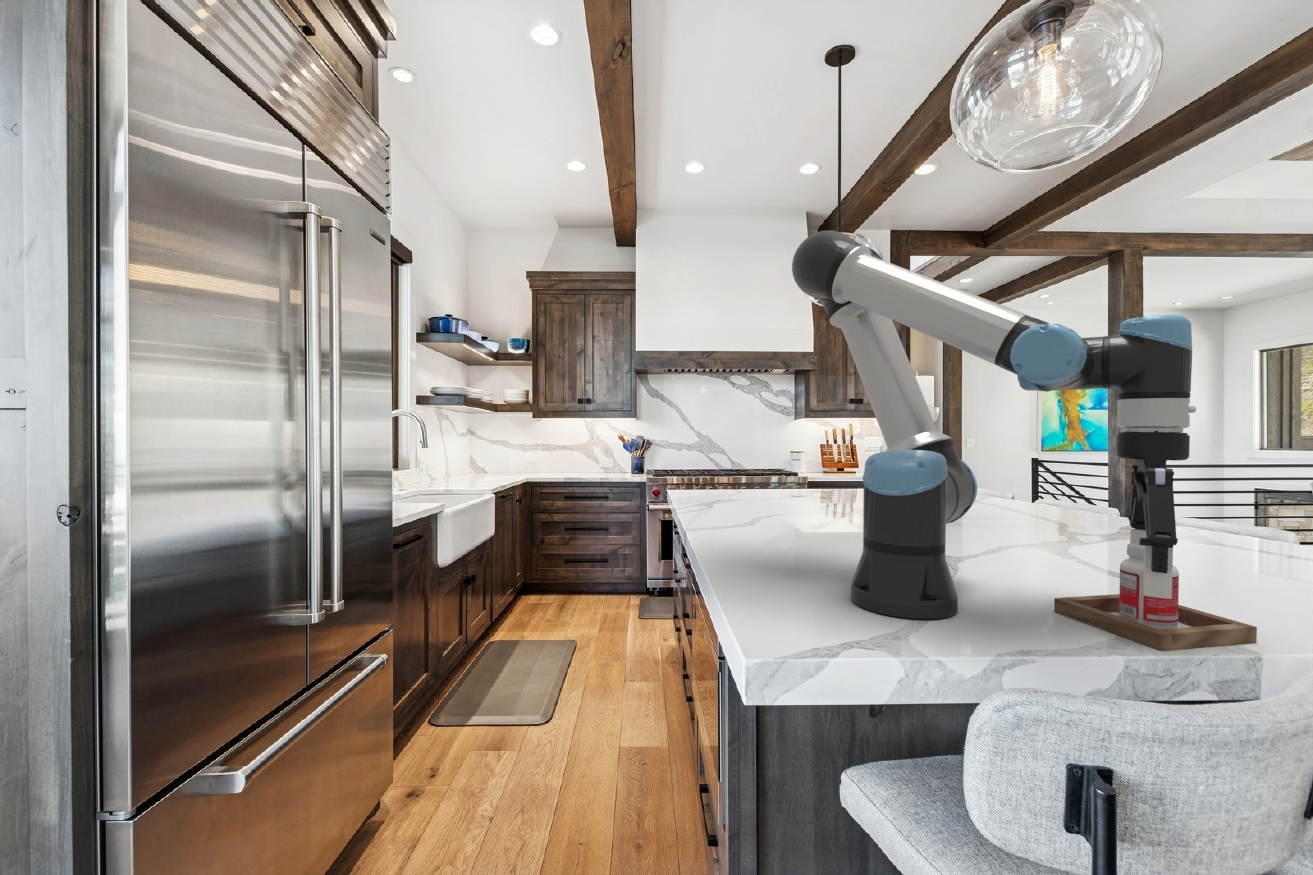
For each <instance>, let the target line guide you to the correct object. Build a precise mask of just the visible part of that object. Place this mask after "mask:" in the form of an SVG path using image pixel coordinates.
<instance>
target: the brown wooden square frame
mask: <svg viewBox="0 0 1313 875" xmlns="http://www.w3.org/2000/svg"><path fill="white" fill-rule="evenodd" d="M1119 599H1120V593H1117V594H1116V593H1115V594H1102V595H1101V594H1099V595H1084V596H1083V595H1082V596H1068V597H1054V600H1053V601H1054V602H1053V603H1054V604H1053V605H1054V606H1053V607H1054V608H1053V610H1054V611H1053V612H1054V613H1057V614H1060V615H1062V616H1066V617H1068V618H1070V619H1074V620H1076V621H1079V622H1082V623H1085V624H1087V623H1089V624H1088V625H1090V624H1091V625H1090V626H1092V625H1093V626H1092V627H1095V626H1096V628H1098V627H1100V628H1102V629H1101V630H1103V629H1104V630H1103V631H1107V632H1108V633H1112V634H1115V635H1117V636H1120V637H1122V638H1125V639H1128V640H1130V641H1133V642H1136V643H1139V644H1142V645H1144V646H1147V647H1150V646H1151V647H1150V648H1152V647H1153V648H1152V649H1155V648H1156V650H1158V649H1159V650H1158V651H1160V650H1165V651H1173V650H1175V649H1176V650H1186V649H1196V648H1198V649H1199V648H1208V647H1219V646H1233V644H1234V645H1242V644H1255V643H1257V642H1258V641H1257V638H1258V637H1257V636H1258V634H1257V633H1258V632H1257V631H1258V627H1257V626H1255V625H1251V624H1249V623H1248V624H1247V623H1246V622H1245V623H1244V622H1242V621H1241V622H1240V621H1237V620H1233V619H1230V618H1227V617H1224V616H1223V617H1222V616H1219V615H1216V614H1212V613H1210V612H1209V613H1208V612H1206V611H1203V610H1198V609H1195V608H1192V607H1188V606H1185V605H1180V604H1178V621H1179V622H1178V623H1180V622H1181V624H1184V623H1185V624H1184V625H1187V624H1188V625H1187V627H1185V626H1184V627H1178V628H1172V629H1159V630H1158V629H1156V628H1153V627H1150V626H1147V625H1144V624H1141V623H1138V622H1135V621H1132V620H1129V619H1126V618H1123V617H1120V616H1119V615H1116V614H1113V613H1111V612H1119V601H1120V600H1119ZM1100 628H1099V629H1100ZM1176 650H1175V651H1176Z"/></svg>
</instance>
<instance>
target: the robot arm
mask: <svg viewBox="0 0 1313 875" xmlns="http://www.w3.org/2000/svg"><path fill="white" fill-rule="evenodd" d="M791 272H792V277H793V279H794V282H795V284H796V286H797V287H798V288H799V289H800V290H801V291H802V292H804V294H806V295H807V296H808V297H809V296H810V297H812V298H813V299H817V300H819V301H821V303H822V305H823V307H824V312H825V313H826V316H827V319H828V321H829V324H830V325H831V326H832V327H835V328H837V329H841V331H842V333H843V336H844V338H845V340H846V344H847V346H848V349H849V351H850V355H851V357H852V359H853V362H854V364H855V367H856V370H857V373H858V375H859V377H860V379H861V380H860V381H861V382H862V385H863V388H864V390H865V393H866V396H867V398H868V401H869V403H870V406H871V409H872V411H873V413H874V416H875V419H876V421H877V423H878V427H879V428H880V429H879V430H880V432H881V434H882V437H883V440H884V442H885V445H886V451H882V452H876V453H874V454H872V455H870V456H868V457H867V459H866V460H865V461H864V462H865V463H864V471H863V472H864V473H863V474H862V482H863V524H862V525H863V528H862V529H863V532H862V533H863V537H862V543H863V544H862V545H863V546H862V552H861V556H860V559H859V561H858V564H857V566H856V570H855V573H854V574H853V578H852V580H851V583H850V600H851V601H852V602H853V603H854V604H856V605H857V606H858V607H861V608H862V609H865V610H868V611H871V612H875V613H876V614H877V613H878V614H883V615H884V616H885V615H886V616H891V617H896V618H898V617H899V618H903V619H914V620H915V619H917V620H918V619H919V620H934V619H935V620H938V619H945V618H950V617H952V616H954V615H956V614H957V613H958V607H959V605H958V604H959V599H958V598H959V597H958V592H957V590H956V585H955V583H954V580H953V577H952V574H951V571H950V568H949V565H948V562H947V558H946V540H947V539H946V538H947V536H946V535H947V534H946V533H947V531H946V530H947V529H946V528H947V527H946V526H947V524H949V523H954V522H956V521H958V520H959V519H961V518H962V517H964V515H966V514H967V513H968V511H970V509H971V508H972V507H973V505H974V503H975V502H976V498H977V494H978V482H977V479H976V476H975V473H974V471H973V470H972V469H971V467H970V466H969V465H968V464H967V463H966V462H964V461H963V460H962V459H961V458H960V456H959V453H958V451H957V449H956V446H955V444H954V441H953V440H952V437H951V436H949V435H948V434H945V433H942V432H940V431H939V430H938V428H937V426H936V423H935V421H934V418H933V416H932V413H931V411H930V408H929V406H928V404H927V401H926V399H925V397H924V394H923V392H922V389H921V387H920V384H919V382H918V379H917V378H916V377H917V376H916V375H915V373H914V370H913V367H912V365H911V362H910V360H909V357H908V356H907V352H906V350H905V348H904V345H903V344H902V341H901V339H900V336H899V333H898V331H897V328H896V327H895V323H894V322H897V323H899V324H901V325H904V326H906V327H908V328H910V329H913V330H915V331H918V332H920V333H922V334H924V335H926V336H929V337H931V338H933V339H936V340H938V341H940V342H943V343H945V344H947V345H948V346H952V347H954V348H956V349H959V350H961V351H963V352H965V353H967V354H969V355H972V356H975V357H977V358H978V359H979V358H980V359H981V360H984V361H986V362H988V363H990V364H993V365H995V366H997V367H999V368H1001V369H1003V370H1005V371H1008V372H1009V373H1012V374H1014V375H1016V377H1017V382H1018V383H1019V386H1020V388H1021V389H1023V390H1024V391H1039V392H1045V393H1048V392H1051V391H1074V390H1075V391H1076V390H1093V389H1095V390H1096V389H1118V390H1117V392H1118V398H1117V409H1116V410H1117V411H1116V412H1117V414H1116V415H1117V416H1116V427H1118V428H1119V429H1121V431H1120V432H1118V433H1117V434H1116V435H1117V436H1116V455H1117V457H1118V458H1120V459H1127V460H1138V462H1133V465H1132V466H1131V468H1132V471H1131V473H1130V479H1131V488H1130V489H1131V492H1130V506H1129V515H1128V516H1127V518H1128V519H1127V520H1128V521H1129V526H1130V529H1129V530H1130V533H1129V534H1130V536H1129V537H1130V538H1129V544H1139V545H1144V571H1143V595H1144V596H1151V597H1159V598H1167V599H1172V570H1173V564H1174V563H1173V562H1174V561H1173V560H1174V557H1173V556H1174V546H1177V544H1178V542H1179V541H1178V538H1177V527H1176V512H1175V511H1176V510H1175V499H1174V498H1175V496H1174V475H1175V471H1173V468H1167V467H1168V466H1167V461H1186V460H1188V459H1189V458H1190V446H1191V444H1190V443H1191V439H1190V438H1191V437H1190V436H1191V435H1189V433H1188V432H1184V429H1188V428H1189V427H1191V426H1190V421H1191V419H1190V418H1191V416H1190V414H1195V413H1196V412H1197V407H1196V406H1195V405H1190V403H1191V401H1190V400H1191V390H1192V387H1191V386H1192V366H1193V337H1192V335H1193V334H1192V323H1191V321H1190V319H1189V318H1187V317H1186V316H1183V315H1180V314H1158V315H1157V314H1155V315H1145V316H1141V317H1140V316H1139V317H1134V318H1129V319H1125V320H1124V321H1122V322H1121V323H1120V325H1119V330H1118V331H1117V334H1111V335H1104V336H1091V337H1081V335H1080V334H1078V333H1077V332H1076V331H1075V330H1073V329H1071V328H1069V327H1067V326H1065V325H1061V324H1059V323H1050V322H1047V321H1045V320H1042V319H1039V318H1037V317H1033V316H1030V315H1028V314H1026V313H1023V312H1021V311H1018V310H1017V309H1013V308H1011V307H1008V306H1005V305H1002V304H1001V303H997V302H994V301H993V300H990V299H987V298H984V297H982V296H978V295H975V294H974V293H970V292H968V291H967V290H962V289H959V288H957V287H954V286H953V285H949V284H947V283H944V282H941V281H939V280H936V279H933V278H931V277H928V276H925V275H923V274H920V273H917V272H915V271H912V270H910V269H907V268H905V267H902V266H899V265H897V264H894V263H891V262H889V261H887V260H884V259H883V257H882V256H881V255H879V254H878V252H876V251H875V249H872V248H871V247H868V246H866V245H863V244H861V243H860V242H858V241H857V240H855V239H853V238H852V237H849V236H848V235H846V234H844V233H843V232H840V231H836V230H821V231H818V232H814V233H813V234H811V235H809V236H808V237H807V238H805V239H804V240H802V242H801V243H800V244H799V246H798V247H797V249H796V250H795V253H794V254H793V258H792V263H791Z"/></svg>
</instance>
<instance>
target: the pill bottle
mask: <svg viewBox="0 0 1313 875" xmlns="http://www.w3.org/2000/svg"><path fill="white" fill-rule="evenodd" d="M1126 548H1127V549H1126V555H1127V556H1128V558H1126V559H1124V560H1123V561H1121V562H1120V564H1119V594H1120V599H1119V600H1120V601H1119V611H1118V612H1119V614H1118V616H1120V617H1123V618H1126V619H1129V620H1132V621H1135V622H1138V623H1141V624H1144V625H1147V626H1150V627H1153V628H1156V629H1158V630H1159V629H1172V628H1179V622H1178V605H1179V595H1180V594H1179V593H1180V592H1179V591H1180V588H1179V587H1180V585H1179V584H1180V583H1179V582H1180V573H1179V570H1178V568H1177V567H1176V566H1175V565H1173V570H1172V599H1167V598H1159V597H1151V596H1144V595H1143V571H1144V545H1139V544H1130V543H1127V546H1126Z"/></svg>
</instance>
